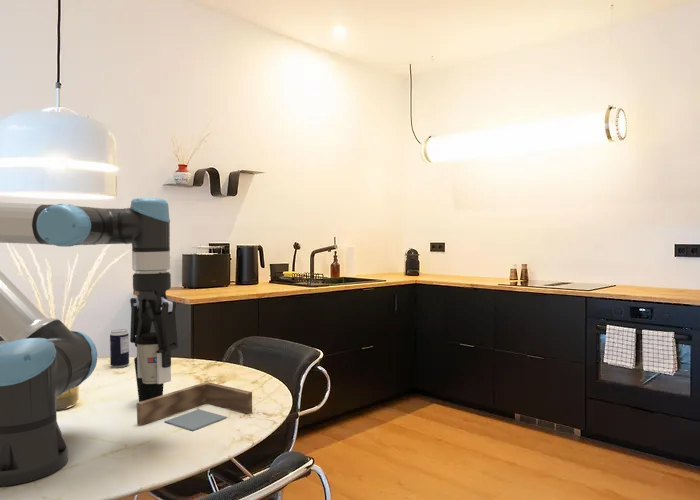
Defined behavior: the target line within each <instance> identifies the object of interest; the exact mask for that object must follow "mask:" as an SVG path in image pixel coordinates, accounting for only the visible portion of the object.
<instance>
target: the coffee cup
mask: <svg viewBox="0 0 700 500" xmlns="http://www.w3.org/2000/svg"><path fill="white" fill-rule="evenodd" d="M136 344H137V347H136V350H137V349H138V356H139V362H140V369H141V375H142V382H143V383H145V384H156V383H157V352H156V351H158V350H159V347H158V342H157V337H156V333H155V331H154V332H151V331H150V333H145V334H142V335H141V338H138V339H137V341H136Z"/></svg>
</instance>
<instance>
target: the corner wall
mask: <svg viewBox="0 0 700 500" xmlns="http://www.w3.org/2000/svg"><path fill="white" fill-rule="evenodd" d="M204 404H207V405H212V406H215V407H218V408H219V407H220V408H224V409H227V410H230V411H235V412H239V413H242V414H245V415H246V414H247V415H249V414H252V413H253V392H252V391H249V390H244V389H239V388H235V387H230V386H226V385H222V384H219V383H218V384H217V383H212V382H209V381H205V382H202V383H199V384H195V385H192V386H189V387H185V388H182V389H178V390H175V391H172V392H168V393H166V394H163V395H161V396H158V397H155V398H151V399H148V400H145V401H141V402H139V401H138V402H136V423H137V424H136V425H138V426H140V427H141V426H145V425H147V424H150V423H153V422H156V421H159V420H162V419H165V418H168V417H170V416H172V415H173V416H174V415H175V414H179V413H181V412H185V411H188V410H190V409H193V408H196V407H200V406H202V405H204Z"/></svg>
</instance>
